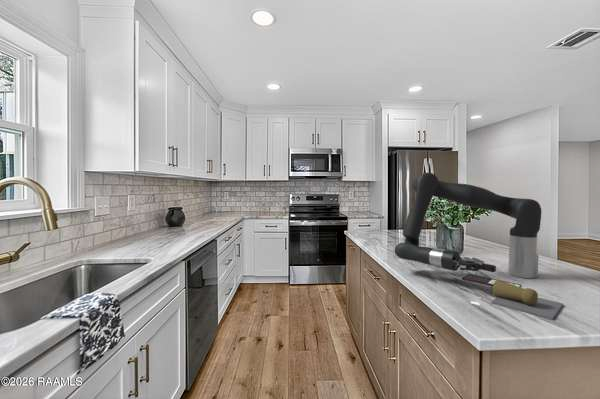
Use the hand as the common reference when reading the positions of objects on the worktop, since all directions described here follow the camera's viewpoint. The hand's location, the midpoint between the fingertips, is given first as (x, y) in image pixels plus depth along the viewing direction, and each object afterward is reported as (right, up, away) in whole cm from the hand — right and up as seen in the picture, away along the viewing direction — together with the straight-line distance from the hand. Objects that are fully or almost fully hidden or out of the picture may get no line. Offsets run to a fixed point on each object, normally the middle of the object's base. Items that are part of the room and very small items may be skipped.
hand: (495, 269), depth 98 cm
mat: (+6, -10, -7) cm, 13 cm away
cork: (0, -7, 0) cm, 7 cm away
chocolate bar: (+8, -10, +14) cm, 19 cm away
